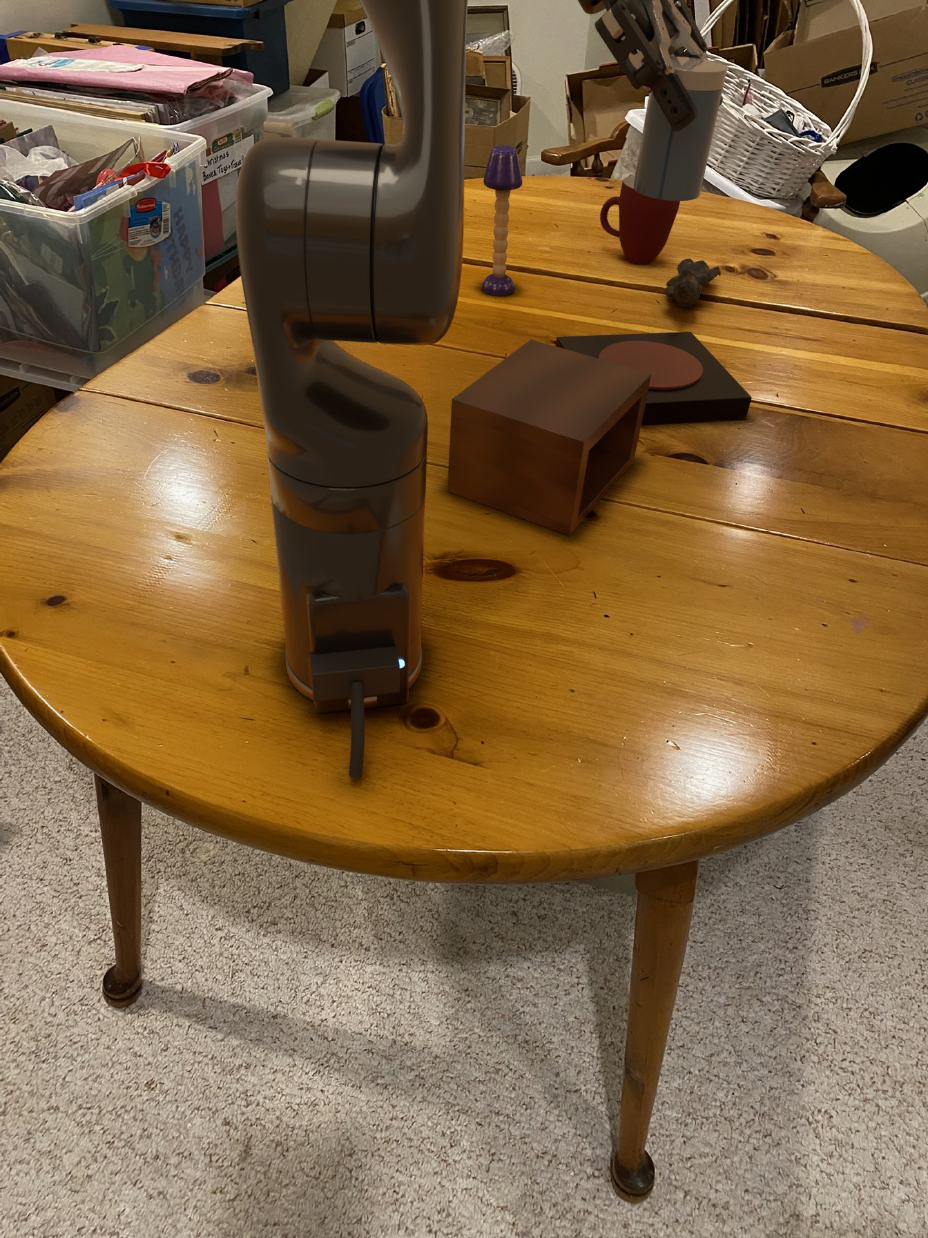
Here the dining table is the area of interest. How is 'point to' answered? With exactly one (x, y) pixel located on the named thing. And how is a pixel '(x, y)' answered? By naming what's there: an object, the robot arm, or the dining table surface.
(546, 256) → the dining table surface
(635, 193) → the mug
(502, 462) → the shelf
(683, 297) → the statue
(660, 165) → the jar
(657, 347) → the hot plate
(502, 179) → the toy lamp
